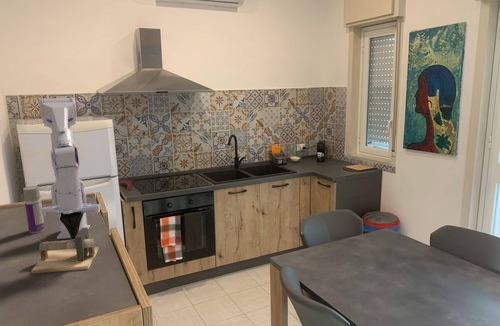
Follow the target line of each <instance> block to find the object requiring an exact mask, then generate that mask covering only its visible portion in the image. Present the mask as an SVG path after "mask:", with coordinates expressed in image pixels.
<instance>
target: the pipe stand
mask: <svg viewBox="0 0 500 326" xmlns="http://www.w3.org/2000/svg"><path fill="white" fill-rule="evenodd" d="M38 247H39V251H40V253H39V254H40V258H41V259H39V260H38V262H37V263H36V265H35V266H34V267H33V268H32V269H31V274H32V275H33V274H43V273H44V274H45V273H55V272H56V273H58V272H67V271H68V272H69V271H78V270H89V269H90V266H91V265H92V262H93V261H94V260H95V257H96V255H97V253H98V252H99V250H100V247H99V246H95V241H94V238H89V239H84V248H89V252H88V254H87V256H86V257H85V259H84V260H81V261H77V252H76V244H75V239H69V240H55V241H52V240H51V241H42V242H40V243H39V246H38Z"/></svg>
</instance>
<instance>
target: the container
mask: <svg viewBox="0 0 500 326" xmlns="http://www.w3.org/2000/svg"><path fill="white" fill-rule="evenodd" d="M22 189H23V199H24V201H23V202H24V208H25V213H26V220H27V227H28V233H29V234H39V233H42V232H44V231H45V230H46V228H45V219H44V216H42V211H41V209H42V208H43V206H42V198H41V192H40V187H39V186H38V185H31V186H30V185H29V186H26V187H23V188H22Z"/></svg>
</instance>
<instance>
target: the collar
mask: <svg viewBox="0 0 500 326" xmlns="http://www.w3.org/2000/svg"><path fill="white" fill-rule="evenodd" d="M84 239H90V237H89V229H88V228H81V230H80V231H79V232H78V234H77V235H76V237H75V239H74V240H75V244H76V252H77V261H81V260H84V259H85V257H86V256H87V254H88V252H89V248H84Z"/></svg>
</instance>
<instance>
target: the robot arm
mask: <svg viewBox="0 0 500 326" xmlns="http://www.w3.org/2000/svg"><path fill="white" fill-rule="evenodd" d="M38 102H39V109H40V116H41V120H42V123H43V125H44V126H45V127H48V128H50V130H51V133H50V141H51V150H50V159H51V167H52V169H53V172H54V177H55V182H54V183H52V184H51V187H50V190H51V192H50V193H51V202H52V203H51V204H52V205H51V206H50V205H49V206H44V207H42V209H41V211H42V216H43V217H46V216H49V215H50V216H51V215H58V219H59V220H58V221H59V228H60V233H59V234H58V235H57V236H56V239H57V240H61V239H63V240H64V239H70V240H75V237H76V235H77V234H78V232H79V231H80V230H81V228H88V230H89V228H90V227H91V225H90V224H88V221H87V213H95V214H98V213H100V211H101V204H100V203H87V194H86V193H87V192H86V189H85V183H84V182H83V180H81V179H80V171H79V169H80V162H81V161H80V154H79V153H80V152H79V149H78V146H77V144H76V142H75V136H74V131H72V130H71V127H72V126H74V125H76V122H77V105H76V100H75V98H74V97H59V98H57V97H55V98H50V97H49V98H43V97H40V99H39V101H38Z"/></svg>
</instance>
